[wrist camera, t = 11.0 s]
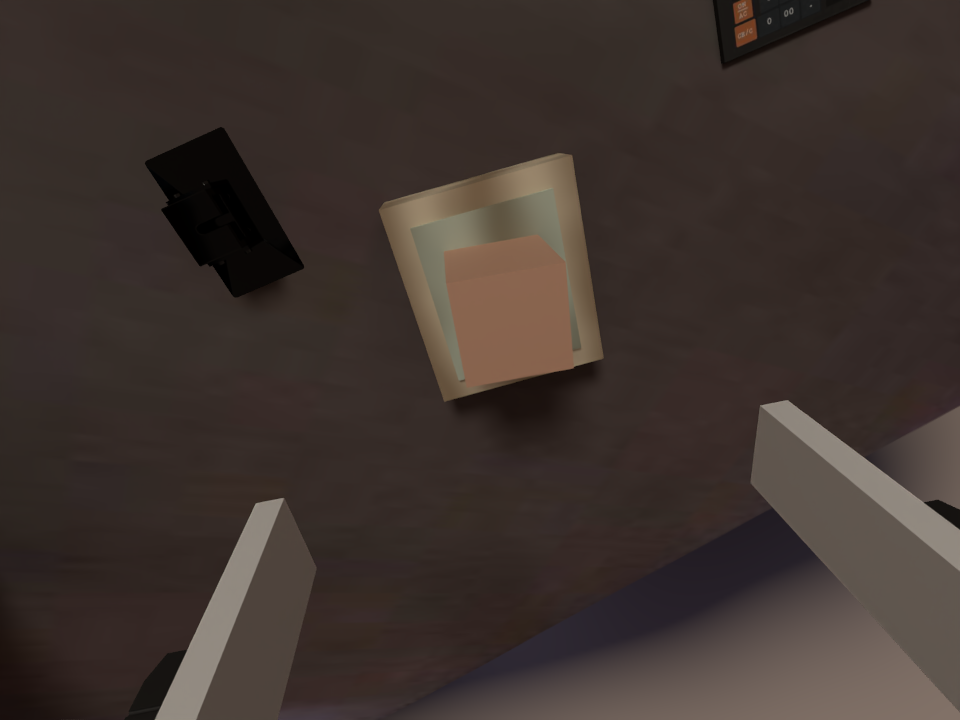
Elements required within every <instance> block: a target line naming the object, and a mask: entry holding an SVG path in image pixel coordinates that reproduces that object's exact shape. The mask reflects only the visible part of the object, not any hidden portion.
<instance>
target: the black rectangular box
mask: <svg viewBox="0 0 960 720" xmlns="http://www.w3.org/2000/svg"><path fill="white" fill-rule="evenodd" d="M145 165H146V166H147V168H148V169H149V171H150V172H151V174H152V175H153V177H154V178H155V180H156V181H157V183H158V184H159V186H160V187H161V189H162V190H163V192H164V193H165V195H166V196H167V198H168V199H169V201H168V202H166V203H167V205H168V206H167V207H165V208H162V209H161V210H162V212H163V213H164V215H165V216H166V218H167V219H168V221H169V222H170V224H171V225H172V227H173V228H174V229H175V231H176V232H177V234H178V235H179V237H180V238H181V240H182V241H183V243H184V244H185V246H186V247H187V248H188V250H189V251H190V253H191V254H192V256H193V257H194V259H195V260H196V262H197V263H198V265H199V266H202V265H205V264H208V265H209V267H210V266H212V265H213V267H214V268H215V270H216V271H217V273H218V274H219V276H220V277H221V279H222V280H223V282H224V283H225V285H226V286H227V288H228V289H229V291H230V292H231V294H232V295H233V297H239V296H241V295H244V294H246V293H248V292H251V291H253V290H255V289H258V288H260V287H262V286H265V285H267V284H269V283H271V282H274V281H276V280H278V279H281V278H283V277H285V276H288V275H290V274H292V273H295V272H297V271H299V270H302V269H303V268H304V265H303V263H302V261H301V260H300V258H299V256H298V255H297V253H296V251H295V249H294V248H293V246H292V244H291V243H290V241H289V239H288V237H287V236H286V234H285V232H284V231H283V229H282V227H281V225H280V224H279V222H278V220H277V219H276V217H275V215H274V213H273V212H272V210H271V208H270V207H269V205H268V203H267V201H266V200H265V198H264V196H263V195H262V193H261V191H260V189H259V188H258V186H257V184H256V183H255V181H254V179H253V177H252V176H251V174H250V172H249V171H248V169H247V167H246V165H245V164H244V162H243V160H242V158H241V157H240V155H239V153H238V152H237V150H236V148H235V146H234V145H233V143H232V141H231V140H230V138H229V136H228V134H227V133H226V131H225V129H224V128H222V127H220V128H218V129H215V130H213V131H211V132H209V133H207V134H204V135H202V136H200V137H198V138H196V139H193V140H191V141H189V142H187V143H185V144H182V145H180V146H178V147H176V148H174V149H171V150H169V151H167V152H165V153H163V154H160V155H158V156H156V157H154V158H152V159H149V160H147V161H146V162H145Z"/></svg>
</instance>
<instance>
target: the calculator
mask: <svg viewBox="0 0 960 720" xmlns="http://www.w3.org/2000/svg"><path fill="white" fill-rule="evenodd" d="M865 1H868V0H713V3H714V11H715V18H716V26H717V34H718V41H719V49H720V56H721V64H722V63H726V62H728V61H730V60H732V59H735V58H737V57H739V56H742V55H744V54H746V53H748V52H751V51H753V50H755V49H758V48H760V47H762V46H765V45H767V44H769V43H771V42H774V41H776V40H778V39H781V38H783V37H785V36H787V35H790V34H792V33H794V32H797V31H799V30H801V29H804V28H806V27H808V26H810V25H813V24H815V23H817V22H820V21H822V20H824V19H826V18H829V17H831V16H833V15H836V14H838V13H840V12H842V11H845V10H847V9H849V8H852V7H854V6H856V5H859V4H861V3H863V2H865Z"/></svg>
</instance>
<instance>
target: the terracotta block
mask: <svg viewBox="0 0 960 720" xmlns="http://www.w3.org/2000/svg"><path fill="white" fill-rule="evenodd" d="M444 261H445V275H446V285H447V291H448V296H449V301H450V306H451V311H452V316H453V321H454V326H455V331H456V336H457V341H458V346H459V351H460V356H461V361H462V366H463V371H464V376H465V382H466V387H467V388H468V387H474V386H479V385H485V384H490V383H496V382H501V381H507V380H512V379H518V378H523V377H529V376H534V375H540V374H545V373H551V372H556V371H562V370H567V369H573V368H574V362H573V350H572V337H571V324H570V311H569V298H568V286H567V273H566V262H565V261H564V260H563V259H562V258H561V257H560V256H559V255H558V254H557V253H556V252H555V251H554V250H553V249H552V248H551V247H550V246H549V245H548V244H547V243H546V242H545V241H544V240H543V239H542V238H541V237H540V236H539V235H538V234H537V235H532V236H526V237H520V238H515V239H509V240H504V241H498V242H493V243H487V244H482V245H476V246H470V247H465V248H459V249H454V250H448V251H444Z"/></svg>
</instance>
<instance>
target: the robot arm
mask: <svg viewBox="0 0 960 720" xmlns="http://www.w3.org/2000/svg"><path fill="white" fill-rule="evenodd" d="M751 484H752V485H753V486H754V487H755V488H756V490H757V491H758V492H759V493H760V494H761V495H762V496H763V497H764V498H765V499H766V500H767V502H768V503H769V504H770V505H771V506H772V507H773V508H774V509H775V510H776V511H777V512H778V514H779V515H780V516H781V517H782V518H783V519H784V520H785V521H786V522H787V523H788V525H789V526H790V527H791V528H792V529H793V530H794V531H795V532H796V533H797V534H798V536H799V537H800V538H801V539H802V540H803V541H804V542H805V543H806V544H807V545H808V547H809V548H810V549H812V551H813V552H814V553H815V554H816V555H817V556H818V557H819V558H820V560H821V561H822V562H823V563H824V564H825V565H826V566H827V567H828V568H829V570H830V571H831V572H832V573H833V574H834V575H835V576H836V577H837V578H838V579H839V580H840V582H841V583H842V584H843V585H844V586H845V587H846V588H847V589H848V590H849V591H850V593H851V594H852V595H853V596H854V597H855V598H856V599H857V600H858V601H859V602H860V603H861V604H862V606H863V607H864V608H865V609H866V610H867V611H868V612H869V613H870V614H871V615H872V617H873V618H874V619H875V620H876V621H877V622H878V623H879V624H880V625H881V626H882V628H883V629H884V630H885V631H886V632H887V633H888V634H889V635H890V636H891V637H892V638H893V640H894V641H895V642H896V643H897V644H898V645H899V646H900V647H901V648H902V649H903V651H904V652H905V653H906V654H907V655H908V656H909V657H910V658H911V659H912V660H913V661H914V663H915V664H916V665H917V666H918V667H919V668H920V669H921V670H922V671H923V673H925V675H926V676H927V677H928V678H929V679H930V680H931V681H932V682H933V683H934V684H935V686H936V687H937V688H938V689H939V690H940V691H941V692H942V693H943V694H944V695H945V697H946V698H947V699H948V700H949V701H950V702H951V703H952V704H953V705H954V706H955V708H956V709H957V710H958V711H959V712H960V510H959V509H957V508H955V507H953V506H951V505H948V504H946V503H944V502H942V501H939V500H934V501H929V502H924V503H923V502H922V501H921V500H919V499H918V498H916V497H915V496H914V495H913V494H911V493H910V492H909V491H907V490H906V489H904V488H903V487H902V486H901V485H899V484H898V483H897V482H895V481H894V480H893V479H891V478H890V477H889V476H887V475H886V474H885V473H883V472H882V471H881V470H879V469H878V468H877V467H875V466H874V465H873V464H871V463H870V462H869V461H867V460H866V459H865V458H863V457H862V456H861V455H859V454H858V453H857V452H855V451H854V450H853V449H851V448H850V447H849V446H848V445H846V444H845V443H844V442H842V441H841V440H840V439H838V438H837V437H836V436H834V435H833V434H832V433H830V432H829V431H828V430H826V429H825V428H824V427H822V426H821V425H820V424H818V423H817V422H816V421H814V420H813V419H812V418H810V417H809V416H808V415H806V414H805V413H804V412H802V411H801V410H800V409H798V408H797V407H796V406H794V405H793V404H792V403H790V402H789V401H788V400H787V401H781V402H776V403H771V404H766V405H761V406H760V410H759V418H758V426H757V434H756V443H755V451H754V459H753V467H752V475H751ZM316 569H317V568H316V566H315V564H314V561H313V559H312V557H311V555H310V553H309V551H308V548H307V546H306V544H305V542H304V540H303V538H302V535H301V533H300V531H299V529H298V527H297V525H296V523H295V520H294V518H293V516H292V514H291V512H290V510H289V507H288V505H287V503H286V501H285V499H284V498H281V499H276V500H271V501H266V502H261V503H256V504H255V506H254V509H253V511H252V513H251V515H250V517H249V519H248V521H247V524H246V526H245V528H244V530H243V532H242V534H241V536H240V539H239V541H238V543H237V545H236V547H235V549H234V551H233V554H232V556H231V558H230V560H229V562H228V564H227V566H226V569H225V571H224V573H223V575H222V577H221V579H220V581H219V584H218V586H217V588H216V590H215V592H214V594H213V596H212V599H211V601H210V603H209V605H208V607H207V609H206V611H205V614H204V616H203V618H202V620H201V622H200V624H199V626H198V629H197V631H196V633H195V635H194V637H193V639H192V641H191V644H190V646H189V648H188V650H183V651H178V652H173V653H168V654H167V655H166V656H165V657H164V658H163V659H162V661H161V662H160V663H159V664H158V665H157V667H156V668H155V669H154V670H153V671H152V673H151V674H150V675H149V676H148V677H147V679H146V680H145V681H144V683H143V685H142V687H141V689H140V691H139V692H138V694H137V696H136V698H135V700H134V702H133V704H132V706H131V708H130V710H129V716H128V717H126V718H125V719H124V720H277V719H278V715H279V712H280V708H281V704H282V700H283V696H284V692H285V688H286V684H287V681H288V677H289V673H290V669H291V665H292V661H293V657H294V654H295V650H296V646H297V642H298V638H299V634H300V630H301V627H302V623H303V619H304V615H305V611H306V607H307V603H308V599H309V596H310V592H311V588H312V584H313V580H314V576H315V572H316Z"/></svg>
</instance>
